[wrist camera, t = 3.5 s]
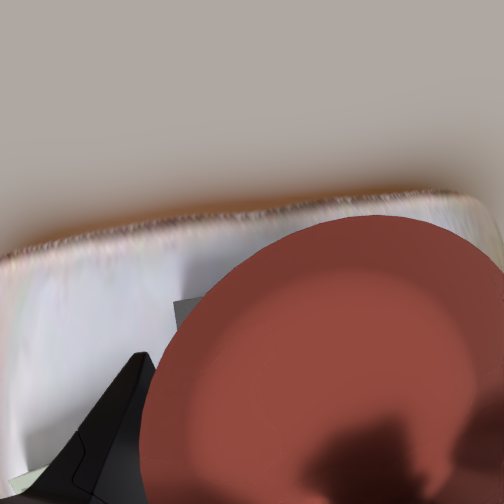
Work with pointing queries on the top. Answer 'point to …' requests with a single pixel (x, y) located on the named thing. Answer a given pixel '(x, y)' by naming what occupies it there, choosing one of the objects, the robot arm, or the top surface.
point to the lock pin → (336, 375)
